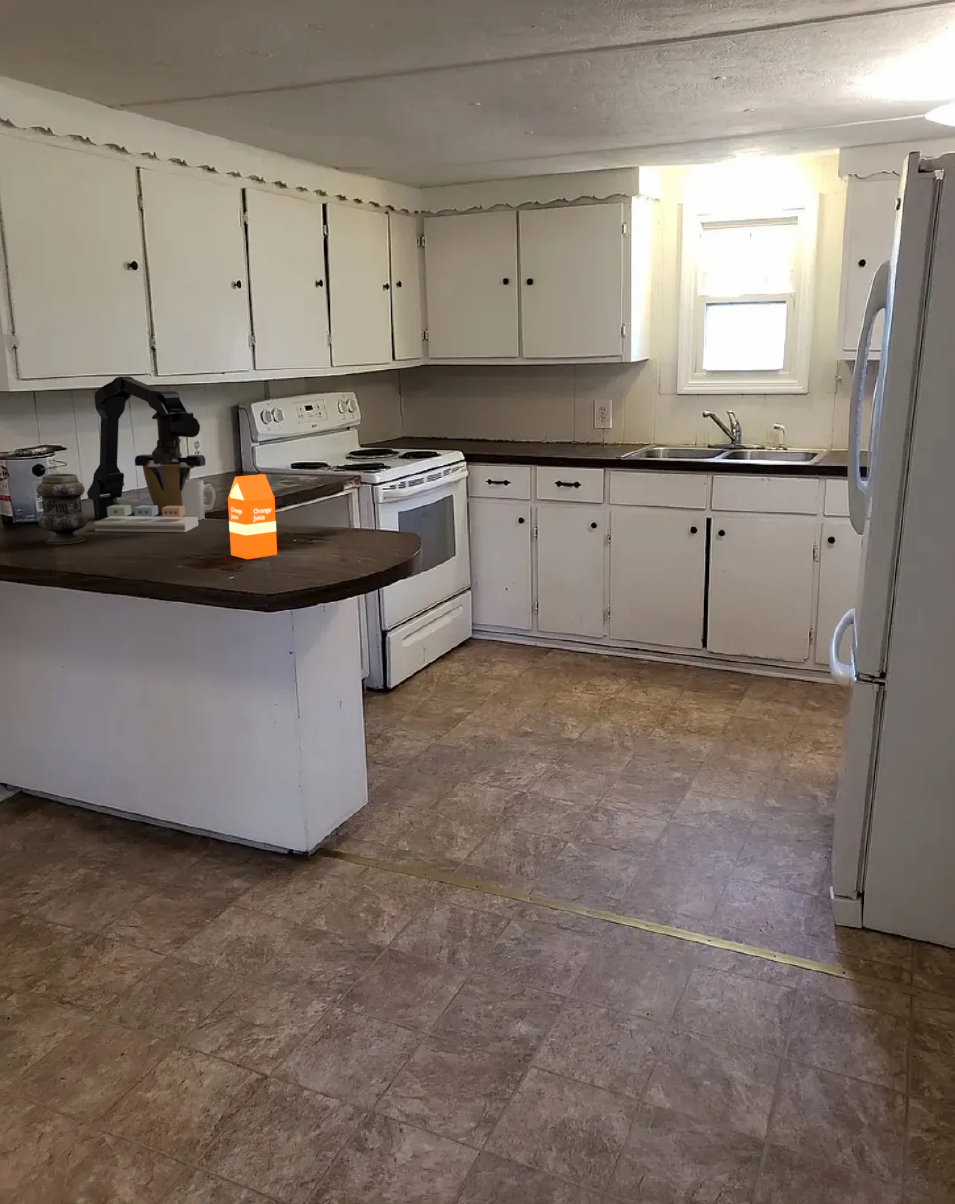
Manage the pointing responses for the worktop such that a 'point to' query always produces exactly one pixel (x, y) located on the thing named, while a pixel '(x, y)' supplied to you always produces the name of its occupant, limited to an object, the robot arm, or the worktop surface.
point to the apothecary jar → (62, 507)
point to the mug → (196, 498)
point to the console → (146, 524)
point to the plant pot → (172, 489)
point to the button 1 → (119, 510)
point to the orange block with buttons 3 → (173, 511)
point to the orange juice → (252, 517)
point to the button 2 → (146, 510)
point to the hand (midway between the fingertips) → (172, 490)
